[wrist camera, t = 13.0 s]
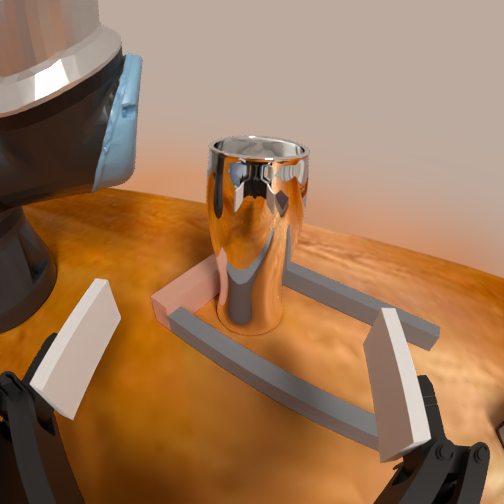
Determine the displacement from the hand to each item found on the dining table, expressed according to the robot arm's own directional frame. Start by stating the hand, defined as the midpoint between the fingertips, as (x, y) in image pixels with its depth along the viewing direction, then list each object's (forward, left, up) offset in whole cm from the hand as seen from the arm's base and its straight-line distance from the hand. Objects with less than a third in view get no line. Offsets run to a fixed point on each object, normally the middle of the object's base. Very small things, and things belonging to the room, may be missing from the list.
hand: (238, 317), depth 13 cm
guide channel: (0, +8, -9) cm, 12 cm away
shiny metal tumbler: (-5, +8, -10) cm, 13 cm away
